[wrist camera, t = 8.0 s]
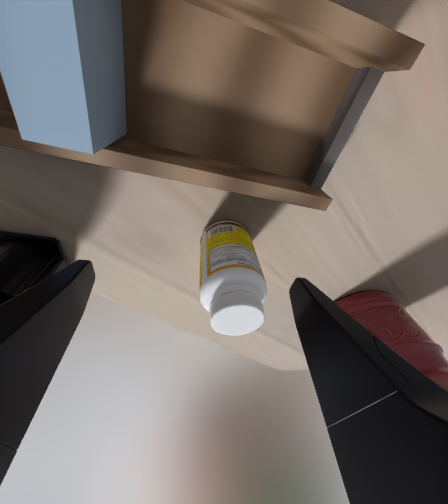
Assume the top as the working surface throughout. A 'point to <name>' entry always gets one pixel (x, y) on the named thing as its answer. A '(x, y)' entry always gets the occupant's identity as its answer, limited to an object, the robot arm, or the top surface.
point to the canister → (398, 332)
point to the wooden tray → (241, 93)
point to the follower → (65, 71)
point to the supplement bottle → (231, 279)
